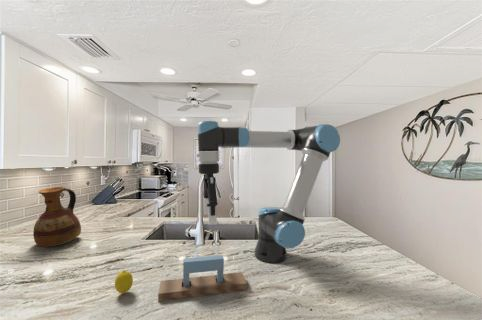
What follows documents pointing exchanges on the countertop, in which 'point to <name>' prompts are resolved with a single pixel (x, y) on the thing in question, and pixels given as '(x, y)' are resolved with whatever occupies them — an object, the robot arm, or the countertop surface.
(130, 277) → the lemon
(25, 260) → the countertop surface
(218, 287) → the rail
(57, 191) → the ceramic pitcher
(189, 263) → the clip
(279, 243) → the robot arm
